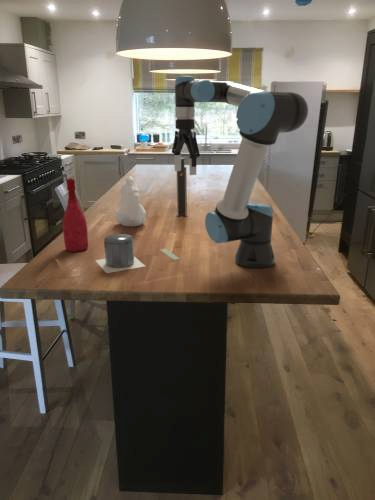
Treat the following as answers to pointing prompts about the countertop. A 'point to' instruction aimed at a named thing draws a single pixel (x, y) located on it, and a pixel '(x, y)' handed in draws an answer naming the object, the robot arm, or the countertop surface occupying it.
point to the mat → (169, 254)
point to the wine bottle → (74, 222)
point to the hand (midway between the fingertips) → (185, 172)
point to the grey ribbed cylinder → (119, 250)
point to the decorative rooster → (130, 205)
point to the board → (110, 269)
